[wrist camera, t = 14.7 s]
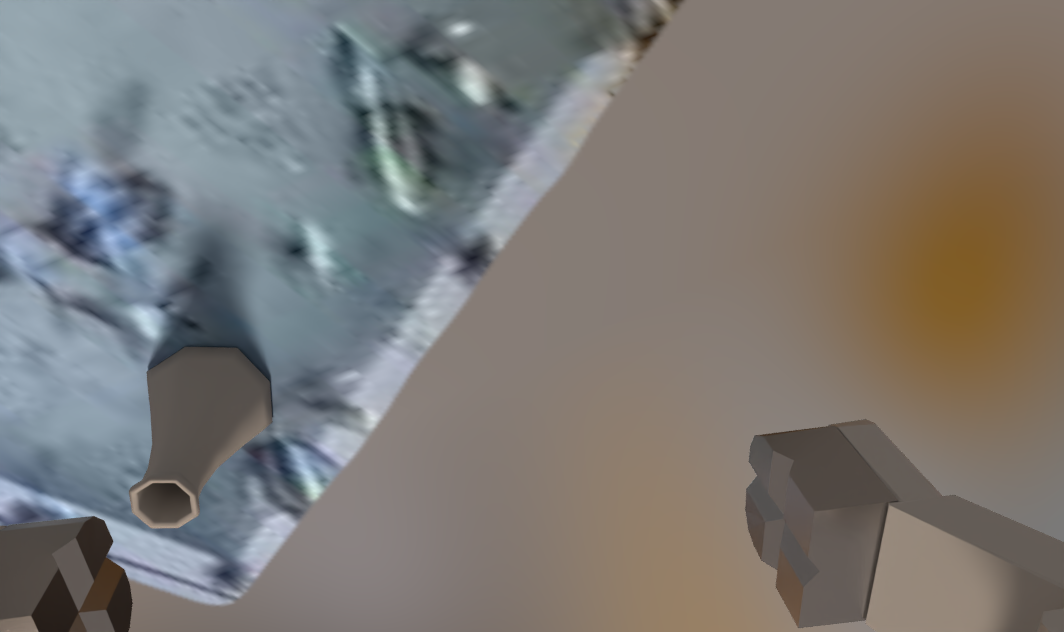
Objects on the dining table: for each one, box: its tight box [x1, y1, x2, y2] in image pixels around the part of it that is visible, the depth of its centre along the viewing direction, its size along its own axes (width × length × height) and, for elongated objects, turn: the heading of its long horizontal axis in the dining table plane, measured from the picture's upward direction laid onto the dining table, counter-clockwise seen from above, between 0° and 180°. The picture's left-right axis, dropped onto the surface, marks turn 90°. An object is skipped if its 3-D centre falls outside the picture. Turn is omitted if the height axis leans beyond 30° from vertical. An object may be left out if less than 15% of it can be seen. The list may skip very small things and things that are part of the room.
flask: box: [129, 347, 272, 528], centre depth 43 cm, size 7×7×10 cm
